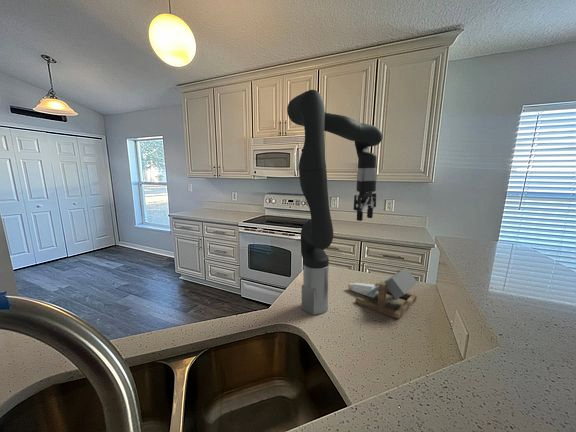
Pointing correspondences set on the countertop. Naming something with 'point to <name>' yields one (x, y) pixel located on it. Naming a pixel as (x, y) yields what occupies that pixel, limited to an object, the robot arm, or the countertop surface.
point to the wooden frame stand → (382, 301)
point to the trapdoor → (398, 283)
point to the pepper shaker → (362, 288)
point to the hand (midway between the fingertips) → (364, 219)
